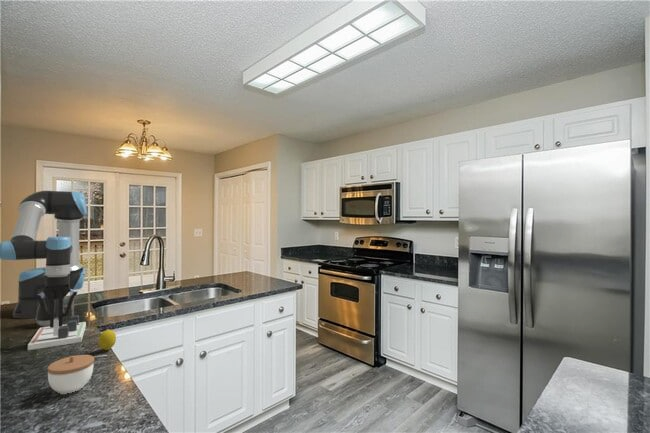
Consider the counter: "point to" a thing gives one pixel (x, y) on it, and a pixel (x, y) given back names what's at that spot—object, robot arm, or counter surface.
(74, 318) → the block
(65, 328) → the switch
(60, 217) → the robot arm
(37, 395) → the counter surface
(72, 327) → the block
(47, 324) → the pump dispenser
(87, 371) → the lidded jar
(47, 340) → the breaker panel
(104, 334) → the lemon
